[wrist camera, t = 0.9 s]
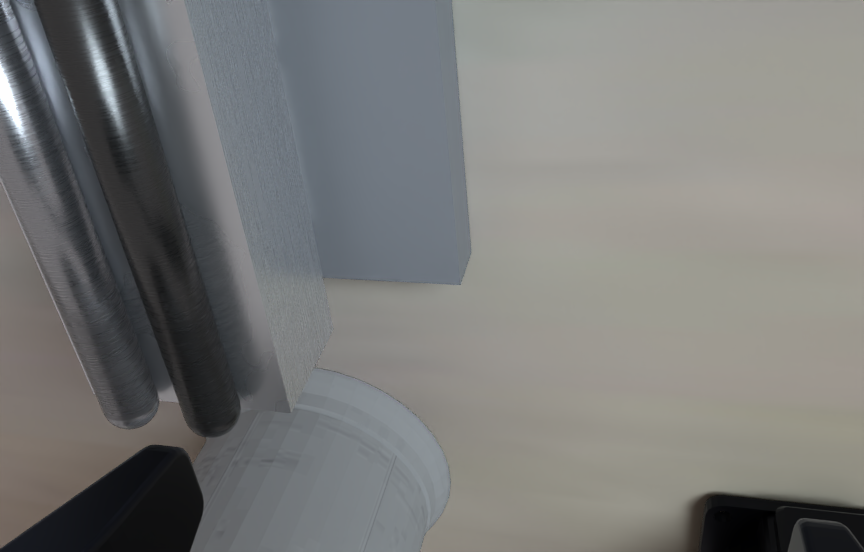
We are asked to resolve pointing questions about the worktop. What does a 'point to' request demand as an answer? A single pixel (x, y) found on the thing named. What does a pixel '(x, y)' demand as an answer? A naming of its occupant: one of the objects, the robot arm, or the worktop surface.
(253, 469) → the grey rounded piece
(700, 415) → the worktop surface
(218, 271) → the swing arm
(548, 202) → the worktop surface
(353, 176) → the label board
